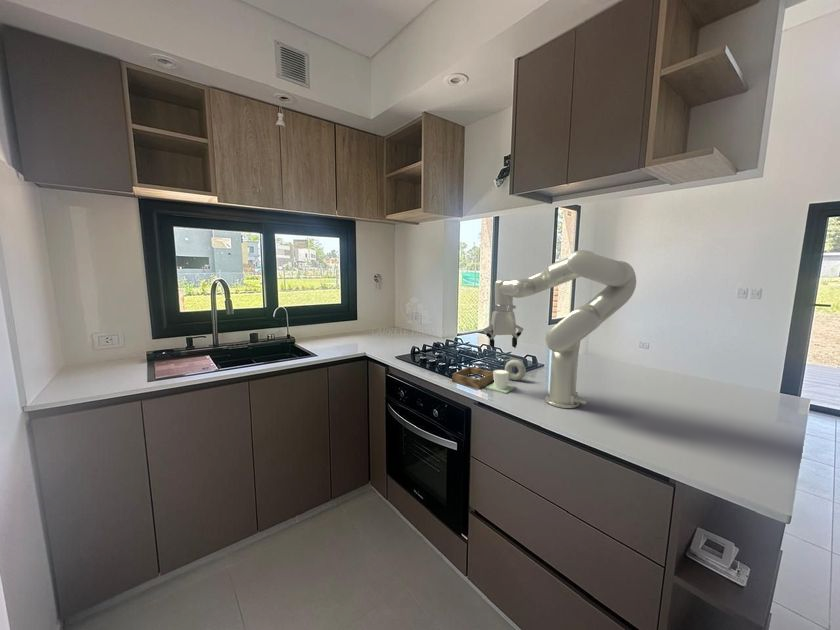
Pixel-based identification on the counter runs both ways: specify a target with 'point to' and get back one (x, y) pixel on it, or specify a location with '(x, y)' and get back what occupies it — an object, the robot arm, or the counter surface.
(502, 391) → the green mat
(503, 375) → the white cylinder
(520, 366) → the donut
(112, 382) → the counter surface
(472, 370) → the walnut box
